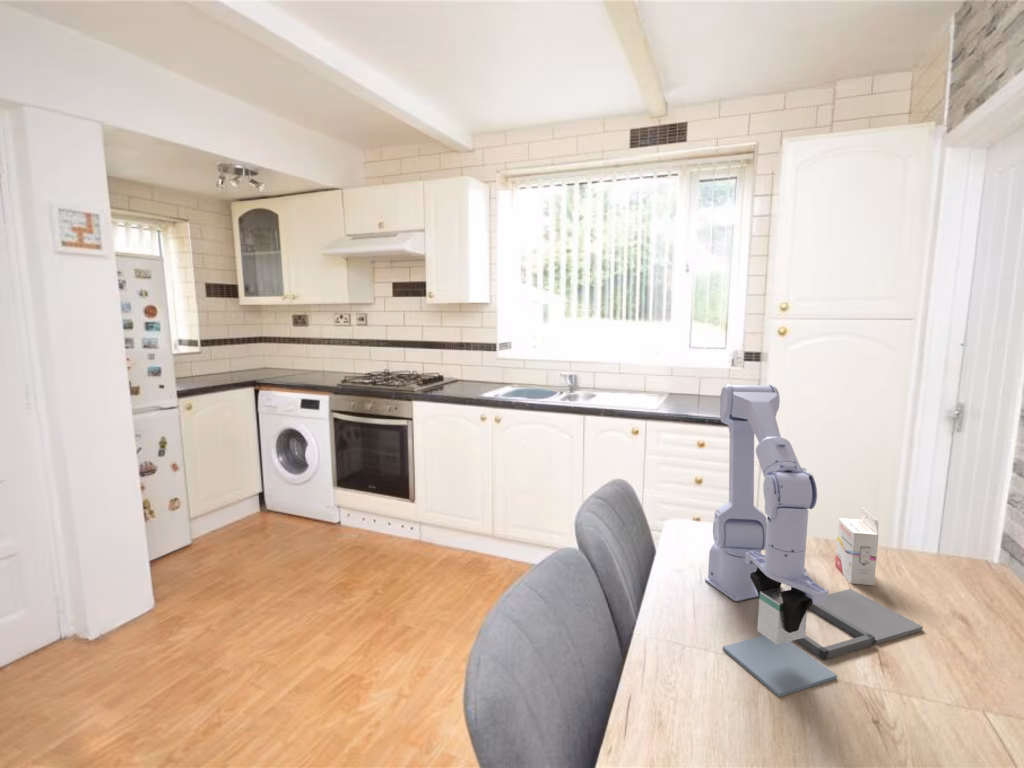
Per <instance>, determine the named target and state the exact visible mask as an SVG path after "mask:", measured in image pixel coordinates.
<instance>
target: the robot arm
mask: <svg viewBox="0 0 1024 768" xmlns="http://www.w3.org/2000/svg"><path fill="white" fill-rule="evenodd" d="M720 392H721V393H720V394H719V395H720V396H719V400H720V401H719V407H720V408H719V417H720V422H721V423H722V424H725V425H727V426H728V431H729V451H728V452H729V455H728V457H729V459H728V461H729V464H728V467H729V469H728V470H729V471H728V472H729V476H728V477H729V478H728V501H727V502H726V503H725V504H723V505H721V506H720V507H718V508H717V509H715V512H714V517H713V519H714V520H713V524H712V535H713V542H714V543H713V544H712V545H711V548H710V550H709V552H708V553H709V555H708V568H707V569H708V571H707V573H708V574H707V576H706V577H705V578H704V581H706V582H707V583H708V584H710V585H711V586H713V587H714V588H715V589H717V590H718V591H720V592H721V593H723V594H725V596H727V597H728V598H729V599H731V600H732V601H734V602H739V601H745V600H749V599H753V598H757V597H758V598H760V591H764V590H769V589H773V588H778V587H782V584H784V586H790V587H791V590H786V591H782V592H781V593H780V594H781V597H782V600H783V604H784V610H785V630H786V631H787V632H788V633H791V632H795V631H798V629H799V626H800V624H801V621H802V619H803V617H804V615H805V613H806V611H807V612H808V610H809V609H808V608H809V607H810V606H811V605H812V603H815V604H816V605H821V604H825V603H827V601H828V594H829V590H826V589H825V588H824V587H822V586H821V585H820V584H818V583H817V582H816V581H815V580H814V579H812V577H810V576H809V575H808V574H807V568H806V567H805V563H806V562H805V561H806V549H807V535H808V522H809V510H812V509H814V508H815V506H816V504H817V502H818V501H817V500H818V488H817V483H816V481H815V476H814V475H813V474H812V473H811V472H810V471H807V469H806V468H804V467H802V466H801V465H800V463H799V460H798V458H797V456H796V454H795V451H794V448H793V446H792V444H791V442H790V440H788V439H786V438H784V437H782V436H781V432H780V430H779V426H778V422H777V418H776V416H777V413H778V411H779V408H780V403H781V401H780V399H781V398H780V393H779V390H778V388H777V387H776V386H775V385H774V384H768V385H760V384H759V385H757V384H756V385H751V384H750V385H749V384H747V385H746V384H729V383H726V384H725V385H724V386H723V387H722V389H721V391H720ZM755 437H756V439H757V442H758V444H757V445H756V448H755ZM755 454H756V457H757V460H758V463H759V465H760V469H761V472H762V474H763V477H764V480H763V486H762V487H763V489H762V490H763V499H764V512H763V511H762V510H761V509H759V508H758V507H756V506H755V501H754V500H755V495H754V494H755ZM808 509H809V510H808ZM766 515H767V517H766ZM762 551H764V554H762Z"/></svg>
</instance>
